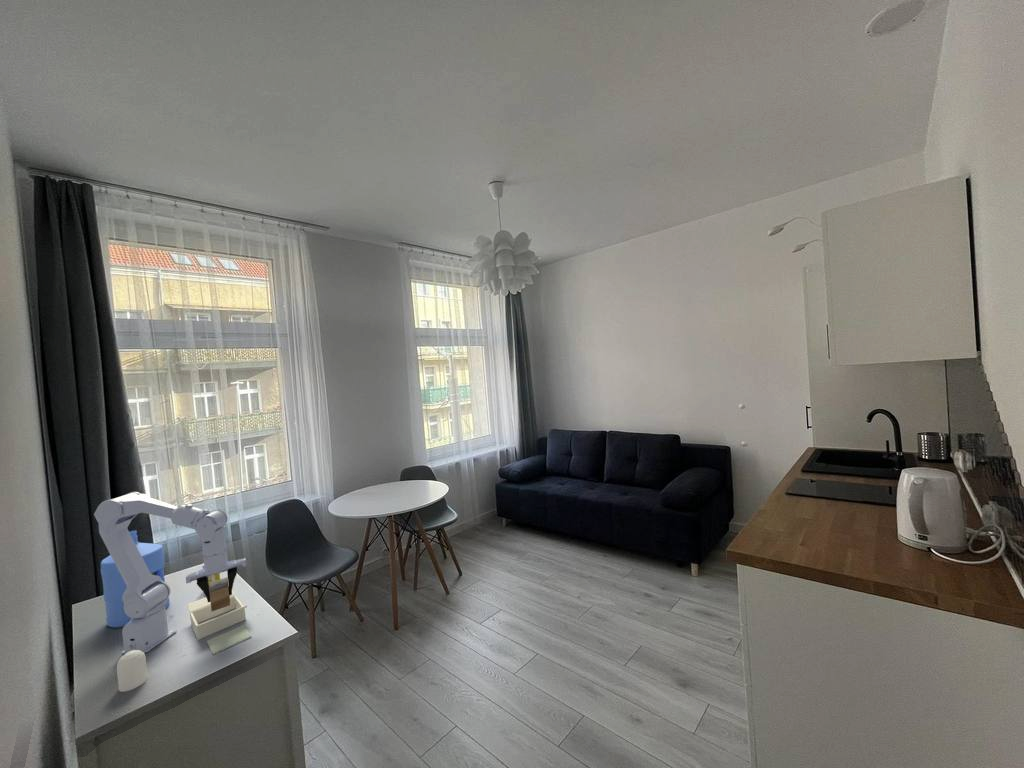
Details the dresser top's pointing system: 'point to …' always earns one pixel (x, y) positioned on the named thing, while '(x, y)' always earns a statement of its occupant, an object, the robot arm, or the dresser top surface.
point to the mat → (228, 639)
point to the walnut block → (219, 594)
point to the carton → (203, 611)
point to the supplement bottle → (213, 577)
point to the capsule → (131, 670)
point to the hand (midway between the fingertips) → (220, 597)
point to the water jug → (117, 586)
